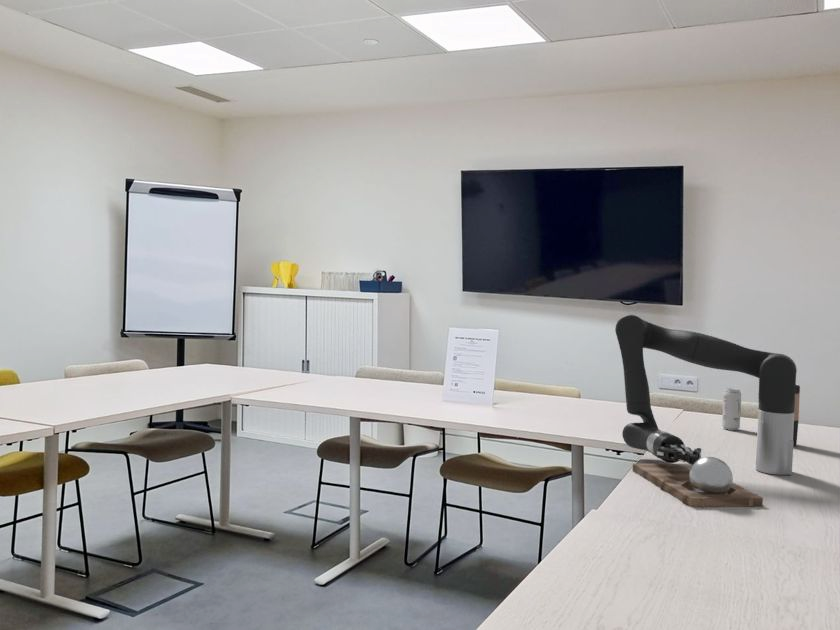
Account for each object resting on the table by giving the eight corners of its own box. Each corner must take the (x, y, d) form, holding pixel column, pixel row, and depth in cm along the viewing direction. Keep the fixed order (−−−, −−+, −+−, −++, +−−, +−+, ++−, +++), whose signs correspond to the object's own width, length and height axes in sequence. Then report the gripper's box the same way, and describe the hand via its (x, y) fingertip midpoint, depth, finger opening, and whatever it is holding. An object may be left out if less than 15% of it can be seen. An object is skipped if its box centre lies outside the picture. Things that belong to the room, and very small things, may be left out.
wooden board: (630, 470, 213) (630, 463, 213) (695, 470, 215) (695, 463, 215) (689, 507, 179) (689, 498, 179) (765, 506, 181) (766, 498, 181)
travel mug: (800, 447, 252) (803, 387, 251) (775, 445, 254) (778, 385, 253) (793, 442, 260) (796, 384, 259) (769, 441, 261) (772, 382, 260)
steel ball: (748, 477, 183) (729, 492, 191) (720, 443, 187) (703, 459, 196) (719, 496, 179) (701, 511, 188) (691, 461, 184) (674, 477, 192)
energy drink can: (737, 431, 278) (739, 390, 277) (720, 429, 281) (722, 388, 280) (740, 429, 283) (742, 388, 282) (723, 427, 286) (725, 387, 285)
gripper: (643, 432, 212) (671, 446, 195) (688, 432, 214) (719, 446, 197) (641, 459, 213) (669, 475, 196) (687, 459, 214) (718, 475, 197)
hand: (694, 460), depth 196 cm, fingers closed
